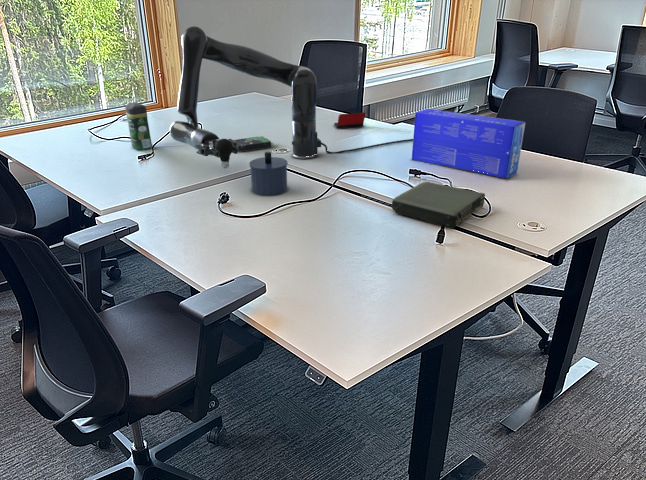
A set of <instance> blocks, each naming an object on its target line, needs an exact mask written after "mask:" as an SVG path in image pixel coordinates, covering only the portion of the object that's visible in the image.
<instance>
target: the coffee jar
mask: <svg viewBox="0 0 646 480" xmlns="http://www.w3.org/2000/svg"><path fill="white" fill-rule="evenodd" d="M125 115H126V120H127V126H128V131H129V132H128V133H129V139H130V144H131V147H132V148H133V149H134V150H138V151H139V150H143V151H144V150H149V149H150V148H153V144H152V139H151V137H152V136H151V131H150V125H149V120H148V110H147V107H146V105H144V104H142V103H139V102H138V101H135V102H128V103H127V104H126V105H125Z"/></svg>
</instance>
